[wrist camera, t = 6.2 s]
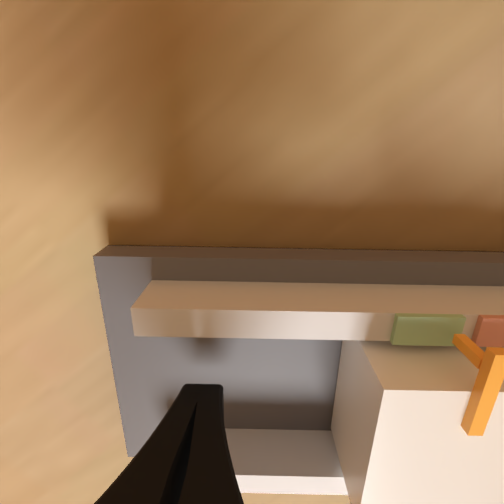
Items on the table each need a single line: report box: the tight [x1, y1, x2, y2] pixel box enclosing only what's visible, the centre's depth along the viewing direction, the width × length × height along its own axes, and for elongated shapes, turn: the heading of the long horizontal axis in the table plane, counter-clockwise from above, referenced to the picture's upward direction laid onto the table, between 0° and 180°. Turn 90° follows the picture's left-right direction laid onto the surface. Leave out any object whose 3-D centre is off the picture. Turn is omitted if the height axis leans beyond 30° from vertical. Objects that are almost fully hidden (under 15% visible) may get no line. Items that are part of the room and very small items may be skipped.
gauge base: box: [93, 245, 504, 495], centre depth 11 cm, size 22×10×5 cm, turn 89°
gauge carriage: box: [331, 334, 504, 504], centre depth 10 cm, size 8×7×4 cm
